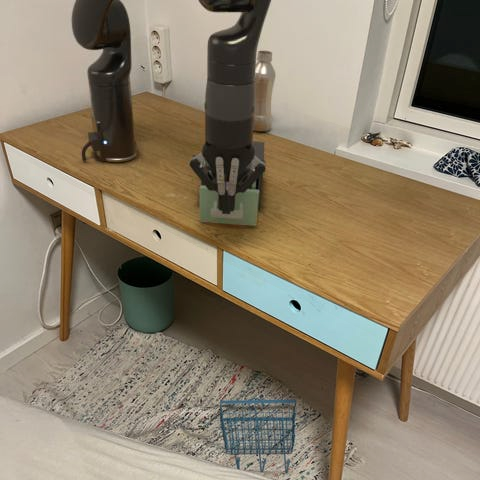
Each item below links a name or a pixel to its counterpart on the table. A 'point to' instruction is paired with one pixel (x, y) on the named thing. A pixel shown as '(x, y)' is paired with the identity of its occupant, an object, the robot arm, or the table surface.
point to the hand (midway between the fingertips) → (226, 212)
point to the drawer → (243, 205)
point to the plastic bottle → (263, 91)
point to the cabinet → (260, 155)
